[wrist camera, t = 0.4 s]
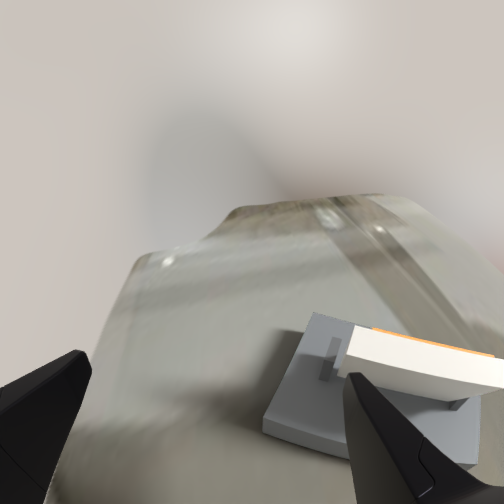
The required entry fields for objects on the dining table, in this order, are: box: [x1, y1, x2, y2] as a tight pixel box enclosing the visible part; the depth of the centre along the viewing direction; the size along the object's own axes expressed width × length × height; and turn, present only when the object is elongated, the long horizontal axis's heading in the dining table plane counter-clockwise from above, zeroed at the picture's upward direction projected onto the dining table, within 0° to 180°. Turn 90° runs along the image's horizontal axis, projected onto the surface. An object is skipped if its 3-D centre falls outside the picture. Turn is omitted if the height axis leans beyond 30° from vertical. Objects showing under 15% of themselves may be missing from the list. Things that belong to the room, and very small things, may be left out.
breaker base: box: [262, 312, 481, 471], centre depth 21 cm, size 12×18×6 cm, turn 65°
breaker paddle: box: [337, 325, 504, 401], centre depth 17 cm, size 2×10×9 cm, turn 65°
